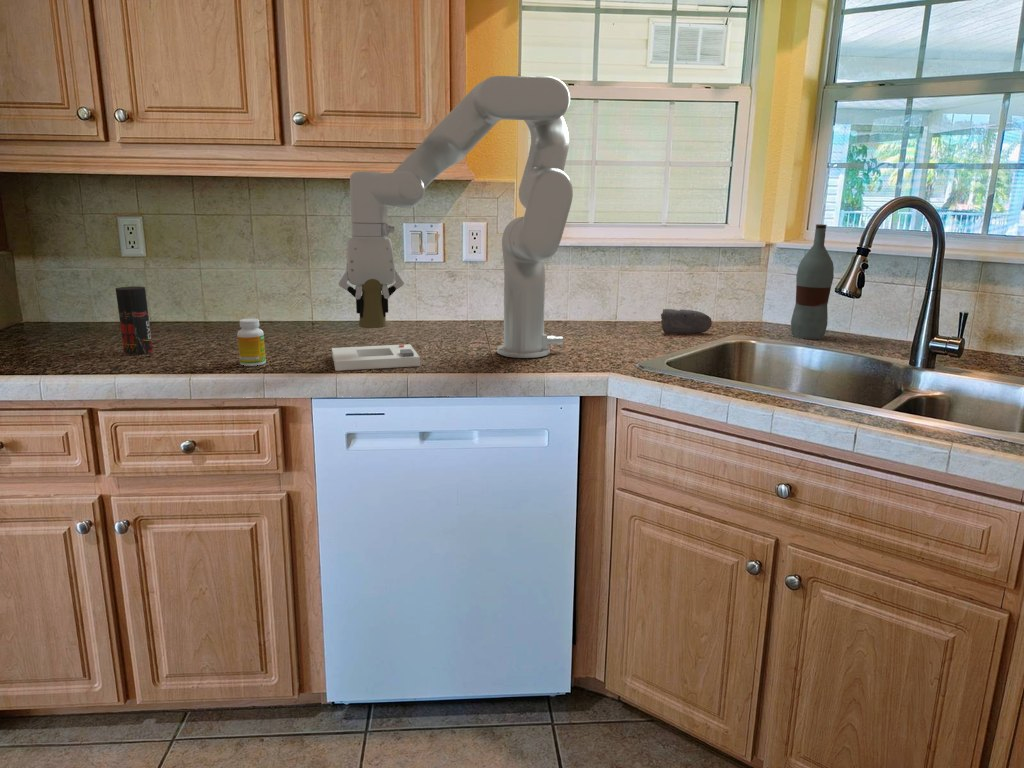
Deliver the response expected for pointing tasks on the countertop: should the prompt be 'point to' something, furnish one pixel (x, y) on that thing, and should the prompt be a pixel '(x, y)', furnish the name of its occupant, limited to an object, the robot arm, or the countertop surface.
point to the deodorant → (134, 320)
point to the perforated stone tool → (684, 321)
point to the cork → (372, 305)
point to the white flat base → (374, 357)
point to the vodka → (813, 290)
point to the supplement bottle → (251, 343)
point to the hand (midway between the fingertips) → (372, 315)
